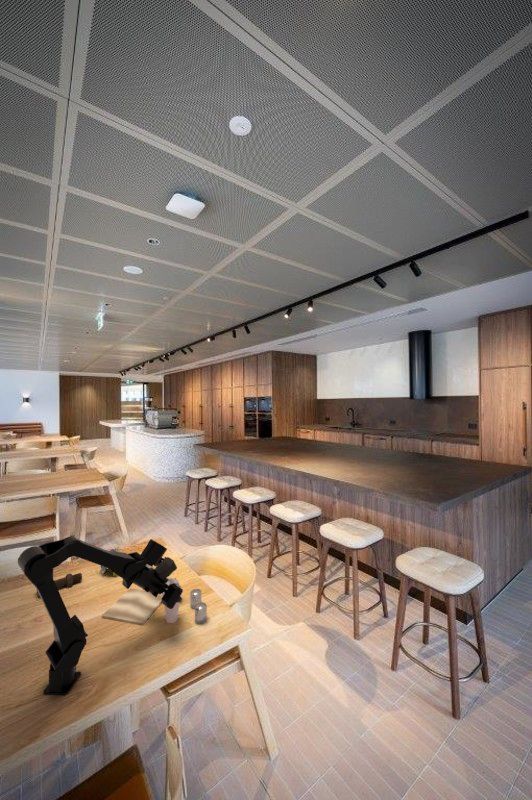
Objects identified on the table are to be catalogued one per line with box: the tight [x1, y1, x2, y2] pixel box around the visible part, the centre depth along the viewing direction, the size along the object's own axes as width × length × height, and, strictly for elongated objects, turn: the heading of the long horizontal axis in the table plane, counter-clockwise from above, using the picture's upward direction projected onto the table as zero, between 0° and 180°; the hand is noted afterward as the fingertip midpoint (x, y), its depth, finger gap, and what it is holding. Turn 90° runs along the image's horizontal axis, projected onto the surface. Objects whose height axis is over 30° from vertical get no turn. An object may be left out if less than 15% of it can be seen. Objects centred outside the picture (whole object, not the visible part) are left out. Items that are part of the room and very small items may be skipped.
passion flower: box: [100, 547, 119, 578], centre depth 142 cm, size 11×11×12 cm
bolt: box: [36, 572, 83, 598], centre depth 130 cm, size 6×5×15 cm
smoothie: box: [162, 579, 181, 624], centre depth 112 cm, size 6×6×14 cm
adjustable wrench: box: [146, 564, 180, 586], centre depth 139 cm, size 25×6×2 cm, turn 42°
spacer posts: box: [177, 584, 208, 625], centre depth 118 cm, size 8×19×5 cm, turn 48°
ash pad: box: [101, 588, 163, 626], centre depth 119 cm, size 16×16×1 cm
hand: (175, 596), depth 113 cm, fingers closed on smoothie, 6 cm apart
